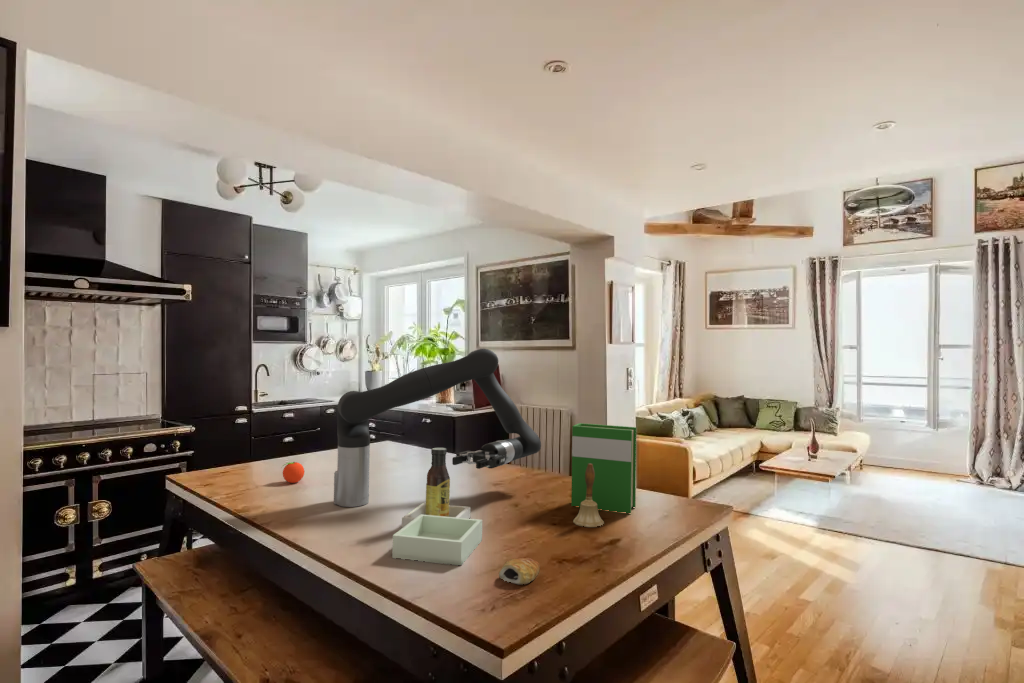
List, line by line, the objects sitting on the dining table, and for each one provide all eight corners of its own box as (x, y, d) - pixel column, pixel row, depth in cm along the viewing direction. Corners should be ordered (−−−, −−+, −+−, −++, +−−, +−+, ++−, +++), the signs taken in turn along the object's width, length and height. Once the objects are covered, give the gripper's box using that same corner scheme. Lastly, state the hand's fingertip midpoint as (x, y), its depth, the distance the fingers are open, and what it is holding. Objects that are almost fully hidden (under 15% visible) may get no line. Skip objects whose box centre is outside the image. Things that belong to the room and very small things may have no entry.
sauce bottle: (444, 528, 140) (445, 451, 140) (421, 526, 141) (423, 450, 142) (452, 520, 146) (453, 447, 147) (430, 518, 148) (431, 446, 148)
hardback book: (635, 507, 161) (636, 427, 162) (630, 514, 155) (631, 430, 155) (578, 500, 169) (579, 423, 169) (571, 506, 162) (572, 426, 162)
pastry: (520, 565, 117) (521, 547, 117) (548, 573, 114) (548, 555, 114) (496, 580, 110) (496, 561, 110) (524, 589, 106) (524, 569, 106)
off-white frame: (401, 529, 139) (401, 517, 139) (422, 513, 152) (422, 502, 152) (453, 534, 135) (453, 522, 136) (470, 517, 149) (470, 506, 149)
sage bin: (392, 558, 120) (392, 535, 120) (420, 534, 135) (420, 514, 135) (461, 565, 116) (461, 542, 116) (481, 540, 132) (482, 519, 132)
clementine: (278, 486, 180) (279, 464, 180) (279, 481, 186) (279, 460, 186) (304, 484, 183) (304, 463, 183) (304, 479, 189) (304, 459, 189)
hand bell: (585, 516, 153) (586, 459, 153) (610, 523, 147) (611, 464, 147) (566, 522, 147) (567, 463, 147) (591, 530, 141) (592, 468, 141)
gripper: (478, 439, 171) (445, 447, 157) (516, 443, 163) (485, 452, 150) (478, 463, 171) (445, 473, 157) (516, 468, 163) (485, 479, 150)
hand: (465, 463), depth 153 cm, fingers open, 8 cm apart
